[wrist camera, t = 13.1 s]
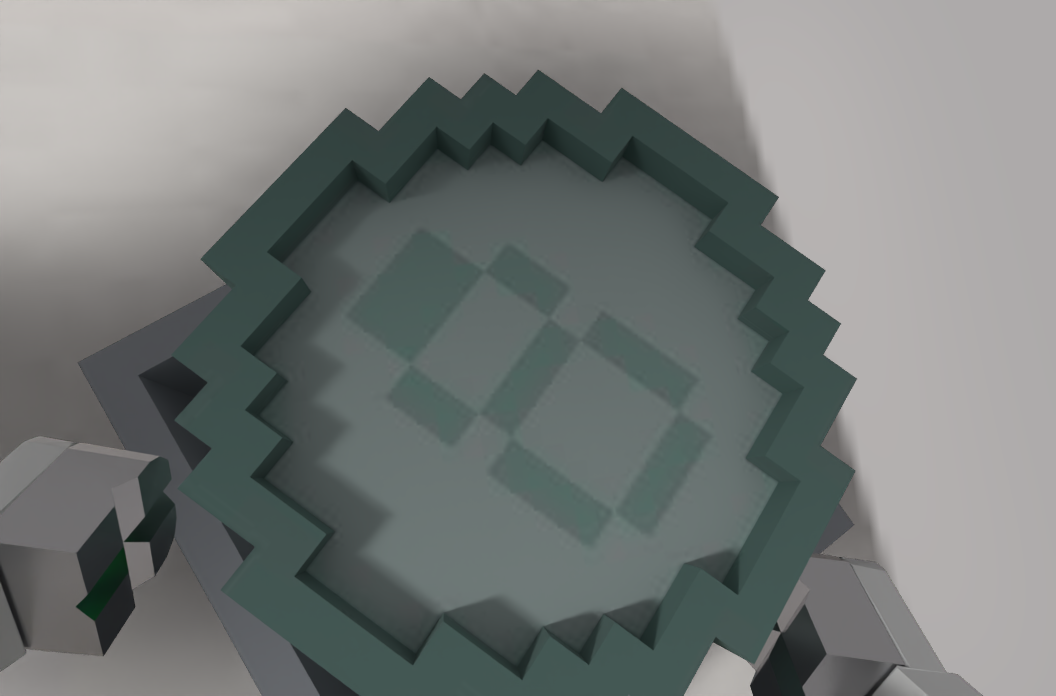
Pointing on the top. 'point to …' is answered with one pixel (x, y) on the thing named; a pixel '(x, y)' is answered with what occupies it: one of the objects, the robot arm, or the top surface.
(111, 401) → the bin
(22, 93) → the top surface
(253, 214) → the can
